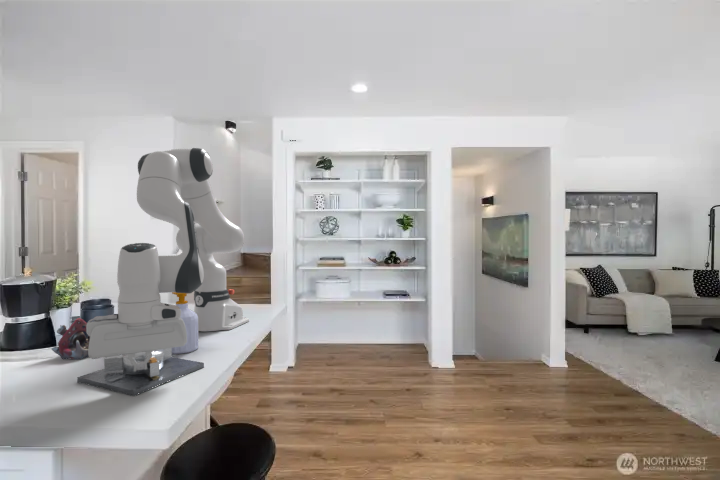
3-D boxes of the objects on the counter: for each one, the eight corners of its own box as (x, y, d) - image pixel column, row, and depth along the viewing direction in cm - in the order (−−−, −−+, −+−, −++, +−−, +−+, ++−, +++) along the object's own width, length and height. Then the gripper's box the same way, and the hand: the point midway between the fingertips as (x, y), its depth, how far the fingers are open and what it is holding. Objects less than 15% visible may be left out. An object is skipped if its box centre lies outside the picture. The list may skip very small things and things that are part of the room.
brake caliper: (75, 355, 106) (56, 319, 109) (54, 376, 109) (36, 340, 112) (114, 344, 117) (96, 311, 119) (93, 363, 120) (77, 330, 122)
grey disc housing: (102, 370, 97) (102, 354, 97) (169, 356, 108) (169, 342, 108) (116, 386, 87) (116, 368, 87) (188, 368, 98) (188, 352, 98)
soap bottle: (161, 350, 119) (160, 270, 119) (190, 343, 126) (189, 267, 125) (173, 356, 113) (171, 272, 113) (203, 349, 120) (202, 269, 119)
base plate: (151, 357, 112) (151, 352, 112) (203, 367, 104) (203, 362, 104) (77, 382, 94) (77, 376, 94) (133, 396, 86) (133, 389, 86)
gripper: (85, 320, 84) (86, 383, 84) (187, 309, 95) (188, 366, 95) (86, 314, 89) (87, 374, 89) (184, 305, 100) (184, 359, 100)
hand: (140, 370), depth 92 cm, fingers closed
